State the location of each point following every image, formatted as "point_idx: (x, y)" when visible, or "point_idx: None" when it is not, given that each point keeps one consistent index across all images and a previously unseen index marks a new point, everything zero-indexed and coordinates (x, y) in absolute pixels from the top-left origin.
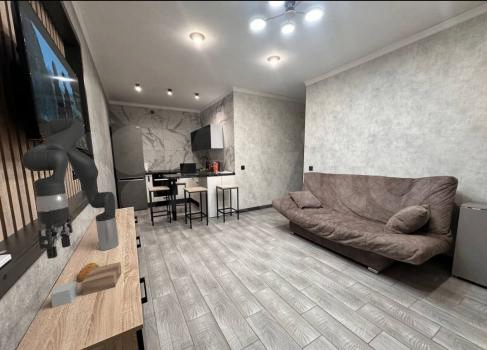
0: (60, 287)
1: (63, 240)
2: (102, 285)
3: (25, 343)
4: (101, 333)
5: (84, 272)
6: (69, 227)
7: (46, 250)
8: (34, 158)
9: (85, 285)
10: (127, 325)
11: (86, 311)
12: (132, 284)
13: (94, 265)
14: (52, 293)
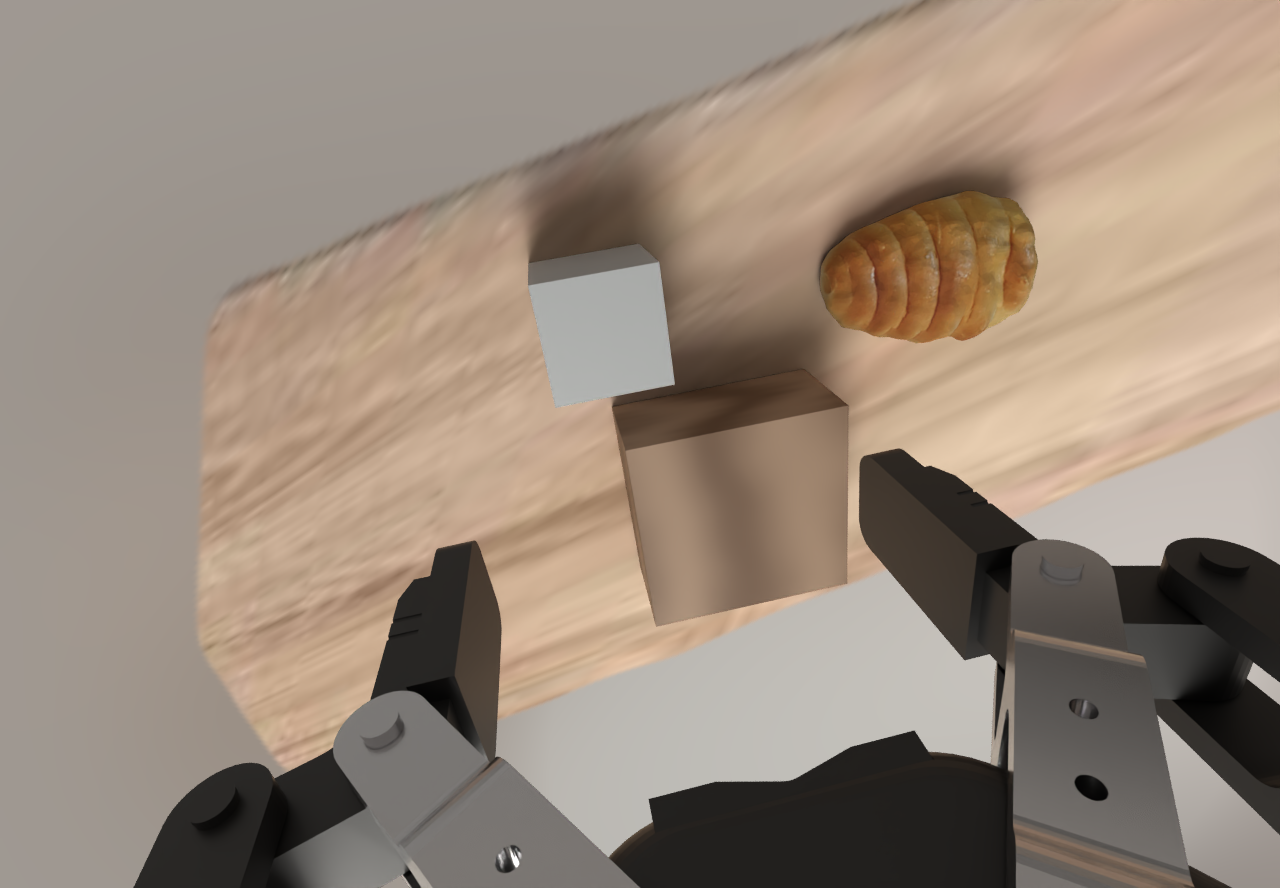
0: (617, 301)
1: (935, 554)
2: (635, 528)
3: (218, 334)
4: (262, 680)
5: (894, 284)
6: (1272, 806)
7: (414, 650)
8: None
9: (625, 457)
10: (300, 758)
11: (436, 523)
12: (630, 652)
13: (972, 323)
14: (537, 294)
